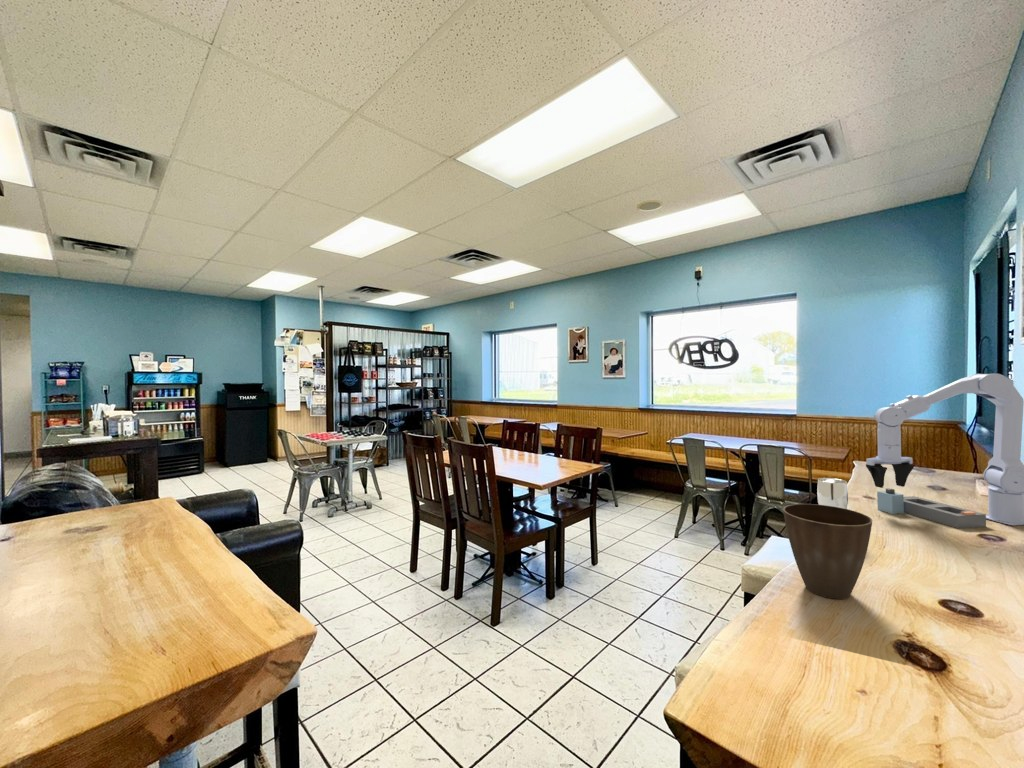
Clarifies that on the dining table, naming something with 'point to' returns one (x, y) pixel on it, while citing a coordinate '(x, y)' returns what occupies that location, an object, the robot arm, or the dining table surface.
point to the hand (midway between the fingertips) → (889, 486)
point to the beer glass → (832, 492)
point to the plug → (890, 501)
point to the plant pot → (828, 546)
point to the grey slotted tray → (943, 513)
